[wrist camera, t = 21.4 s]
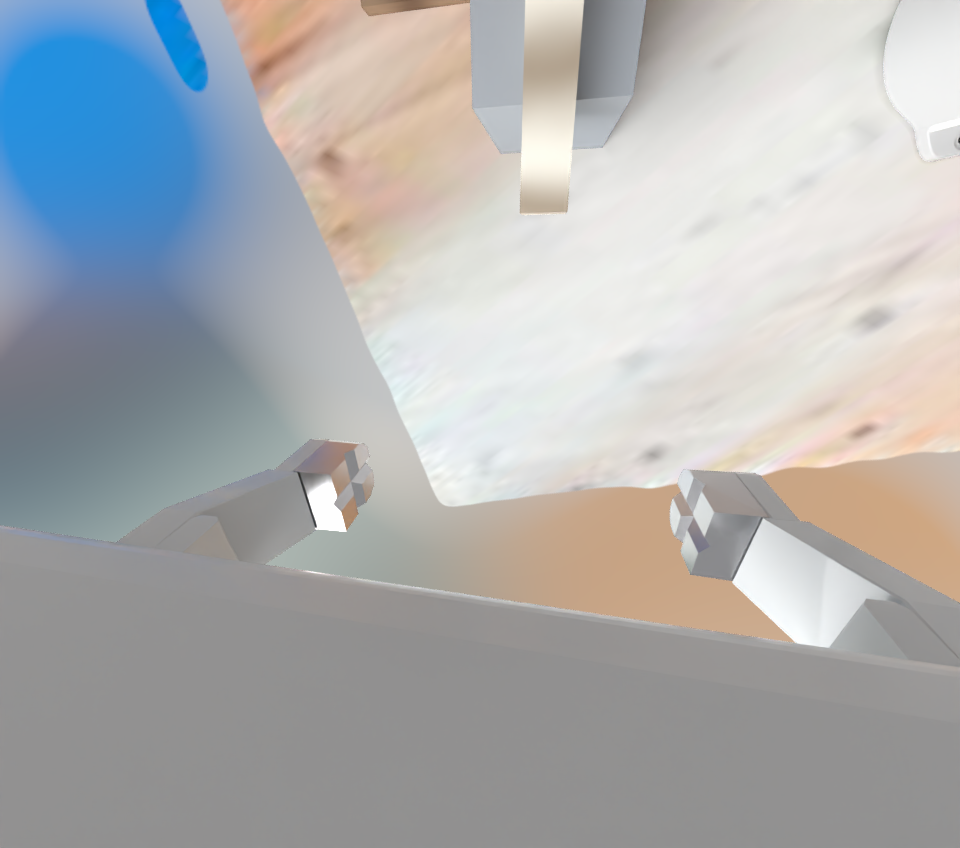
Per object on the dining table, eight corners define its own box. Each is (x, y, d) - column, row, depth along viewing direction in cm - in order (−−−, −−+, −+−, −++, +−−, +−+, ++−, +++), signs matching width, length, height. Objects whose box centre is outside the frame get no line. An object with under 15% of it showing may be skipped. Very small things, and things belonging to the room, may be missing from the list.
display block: (627, -74, 28) (693, -342, 15) (602, 147, 35) (633, 95, 22) (501, -54, 30) (463, -280, 17) (500, 153, 36) (472, 108, 23)
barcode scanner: (580, 213, 25) (586, 208, 20) (509, 215, 26) (500, 211, 21) (622, -239, 16) (649, -417, 12) (514, -213, 17) (502, -371, 13)
